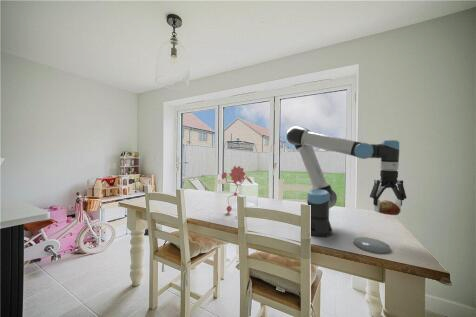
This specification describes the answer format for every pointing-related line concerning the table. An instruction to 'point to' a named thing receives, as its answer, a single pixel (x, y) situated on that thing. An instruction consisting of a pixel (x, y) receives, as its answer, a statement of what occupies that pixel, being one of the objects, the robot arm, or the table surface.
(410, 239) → the table surface
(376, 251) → the plate
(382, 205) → the bread roll
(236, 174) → the red flower ornament
